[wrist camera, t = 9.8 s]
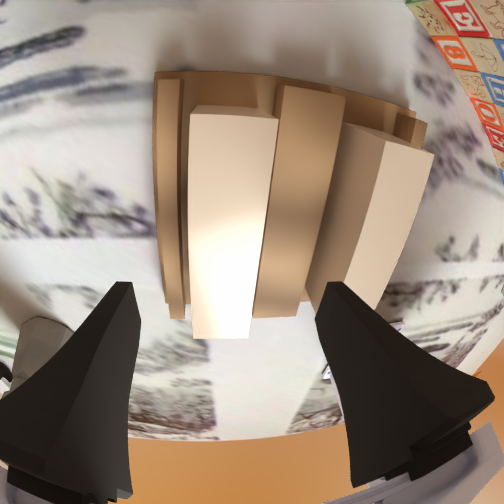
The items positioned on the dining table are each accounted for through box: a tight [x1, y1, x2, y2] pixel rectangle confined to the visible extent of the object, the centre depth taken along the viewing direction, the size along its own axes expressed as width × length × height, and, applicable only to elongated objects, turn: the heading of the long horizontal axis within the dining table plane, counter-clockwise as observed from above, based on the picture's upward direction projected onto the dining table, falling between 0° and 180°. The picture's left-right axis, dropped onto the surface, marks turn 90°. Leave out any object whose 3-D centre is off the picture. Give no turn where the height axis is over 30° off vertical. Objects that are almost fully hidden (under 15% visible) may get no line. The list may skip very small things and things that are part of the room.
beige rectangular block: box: [188, 105, 279, 339], centre depth 14 cm, size 12×3×5 cm, turn 174°
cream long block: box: [305, 122, 434, 314], centre depth 16 cm, size 12×3×5 cm, turn 175°
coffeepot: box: [0, 317, 74, 466], centre depth 15 cm, size 15×9×18 cm, turn 178°
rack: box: [153, 71, 427, 319], centre depth 17 cm, size 16×16×3 cm
